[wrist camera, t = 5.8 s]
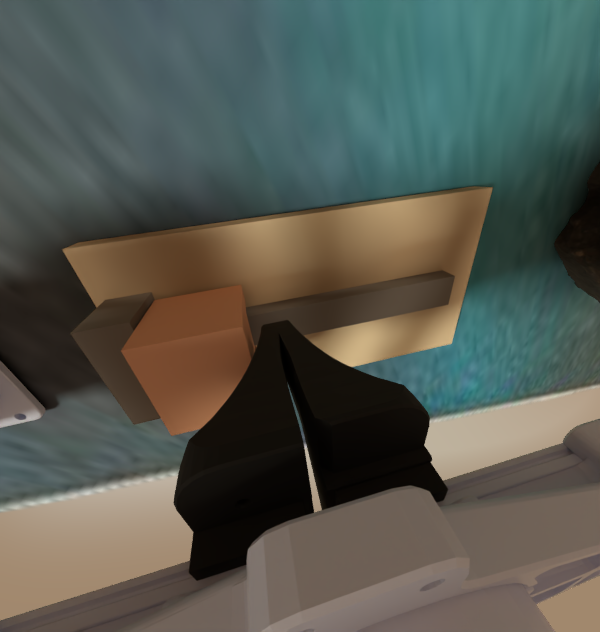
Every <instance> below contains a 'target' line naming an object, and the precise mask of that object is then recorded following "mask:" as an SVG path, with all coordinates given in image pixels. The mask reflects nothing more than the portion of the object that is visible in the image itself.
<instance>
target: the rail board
mask: <svg viewBox="0 0 600 632" xmlns="http://www.w3.org/2000/svg"><path fill="white" fill-rule="evenodd" d="M492 189H493V187H476V186H473V187H466V188H459V189H452V190H445V191H438V192H431V193H424V194H417V195H410V196H403V197H396V198H388V199H381V200H374V201H367V202H360V203H353V204H346V205H339V206H332V207H325V208H318V209H311V210H304V211H297V212H290V213H283V214H276V215H269V216H262V217H255V218H248V219H240V220H233V221H226V222H219V223H212V224H205V225H198V226H191V227H184V228H177V229H170V230H163V231H156V232H149V233H142V234H135V235H128V236H121V237H114V238H107V239H100V240H92V241H85V242H78V243H76V244H74V245H71V246H69V247H67V248H64V249H62V250H63V252H64V254H65V255H66V257H67V259H68V260H69V262H70V264H71V265H72V267H73V269H74V271H75V272H76V274H77V276H78V277H79V279H80V281H81V282H82V284H83V286H84V287H85V289H86V291H87V292H88V294H89V296H90V297H91V299H92V301H93V302H94V304H95V306H96V309H95V310H94V311H93V312H92V313H91V314H90V315H89V316H88V317H87V318H86V319H85V320H84V321H82V322H81V323H80V324H79V325H78V326H77V327H76V328H75V329H74V330H73V331H72V332H71V333H70V334H71V335H72V337H73V338H74V340H75V341H76V343H77V344H78V345H79V347H80V348H81V350H82V351H83V353H84V354H85V355H86V357H87V358H88V360H89V361H90V363H91V364H92V365H93V367H94V368H95V370H96V371H97V373H98V374H99V376H100V377H101V378H102V380H103V381H104V383H105V384H106V386H107V387H108V388H109V390H110V391H111V393H112V394H113V396H114V397H115V398H116V400H117V401H118V403H119V404H120V406H121V407H122V408H123V410H124V411H125V413H126V414H127V416H128V417H129V418H130V420H131V421H132V423H133V424H138V423H143V422H147V421H151V420H155V419H159V418H161V417H160V416H159V414H158V412H157V411H156V409H155V407H154V405H153V404H152V402H151V400H150V399H149V397H148V395H147V394H146V392H145V390H144V389H143V387H142V385H141V384H140V382H139V380H138V379H137V377H136V375H135V374H134V372H133V370H132V369H131V367H130V365H129V364H128V362H127V360H126V359H125V357H124V355H123V354H122V352H121V350H122V348H123V347H124V345H125V344H126V342H127V341H128V339H129V338H130V336H131V335H132V333H133V332H134V330H135V329H136V327H137V326H138V324H139V323H140V321H141V320H142V318H143V317H144V315H145V313H146V312H147V310H148V309H149V307H150V306H151V304H152V303H153V301H154V300H158V299H163V298H169V297H174V296H180V295H186V294H191V293H197V292H203V291H208V290H214V289H220V288H225V287H231V286H237V285H241V286H242V290H243V294H244V298H245V303H246V314H247V318H248V322H249V326H250V330H251V334H252V338H253V342H254V346H255V345H256V347H257V344H258V341H259V338H260V334H261V327H262V326H263V325H264V324H269V323H274V322H279V321H284V320H289V321H290V322H291V323H292V324H293V325H294V327H295V328H296V329H297V330H298V331H299V332H300V333H301V334H302V335H303V336H305V337H306V338H307V339H308V340H309V341H310V342H312V343H313V344H314V345H315V346H317V347H318V348H319V349H321V350H322V351H323V352H325V353H326V354H328V355H329V356H331V357H333V358H334V359H336V360H338V361H340V362H342V363H344V364H346V365H348V366H350V367H354V366H358V365H362V364H367V363H371V362H375V361H379V360H384V359H388V358H392V357H396V356H401V355H405V354H409V353H413V352H418V351H422V350H426V349H430V348H435V347H439V346H443V345H448V344H452V340H453V336H454V332H455V329H456V325H457V321H458V317H459V314H460V310H461V306H462V302H463V298H464V295H465V291H466V287H467V283H468V280H469V276H470V272H471V268H472V264H473V261H474V257H475V253H476V249H477V245H478V242H479V238H480V234H481V230H482V227H483V223H484V219H485V215H486V211H487V208H488V204H489V200H490V196H491V193H492Z"/></svg>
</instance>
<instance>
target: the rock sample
mask: <svg viewBox="0 0 600 632" xmlns="http://www.w3.org/2000/svg"><path fill="white" fill-rule="evenodd" d="M587 186H588V189H589V191H588V196H587V198H586V201H585V204H584V205H583V206H582V207H581V208H580V209H579V211H578V212H576V213H575V214H574V215H573V216H572V217H571V218H570V220H569V223H568V224H567V226H566V227H565V228H564V230H563V231H562V232H561V234H560V235H559V236H558V238H557V239H556V240H555V243H554V246H555V248H556V250H557V252H558V254H559V256H560V258H561V260H562V261H563V264H564V266H565V268H566V270H567V272H568V276H571V278H572V279H573V280H574V281H575V284H576V286H577V287H578V288H581V289H582V290H584V291H585V292H586V293H587V294H588V295H590V296H592V297H593V298H595V299H596V300H598V301H599V303H600V162H599V163H598V165H597V166H596V167H595V169H594V171H593V172H592V174H591V175H590V177H589V179H588V182H587Z"/></svg>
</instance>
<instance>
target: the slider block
mask: <svg viewBox="0 0 600 632" xmlns="http://www.w3.org/2000/svg"><path fill="white" fill-rule="evenodd" d="M255 350H256V345H255V346H254V342H253V338H252V334H251V330H250V326H249V322H248V318H247V314H246V303H245V298H244V294H243V290H242V286H241V285H237V286H231V287H225V288H220V289H214V290H208V291H203V292H197V293H191V294H186V295H180V296H174V297H169V298H163V299H158V300H154V301H153V303H152V304H151V306H150V307H149V309H148V310H147V312H146V313H145V315H144V317H143V318H142V320H141V321H140V323H139V324H138V326H137V327H136V329H135V330H134V332H133V333H132V335H131V336H130V338H129V339H128V341H127V342H126V344H125V345H124V347H123V348H122V350H121V352H122V354H123V355H124V357H125V359H126V360H127V362H128V364H129V365H130V367H131V369H132V370H133V372H134V374H135V375H136V377H137V379H138V380H139V382H140V384H141V385H142V387H143V389H144V390H145V392H146V394H147V395H148V397H149V399H150V400H151V402H152V404H153V405H154V407H155V409H156V411H157V412H158V414H159V416H160V417H161V419H162V421H163V422H164V424H165V426H166V427H167V429H168V431H169V432H170V434H171V436H173V435H177V434H181V433H185V432H189V431H193V430H197V429H201V428H202V427H203V426H204V425H205V424H206V423H207V422H208V421H209V420H210V419H211V418H212V417H213V416H214V415H215V414H216V413H217V411H218V410H219V409H220V408H221V407H222V405H223V404H224V403H225V402H226V401H227V399H228V398H229V397H230V395H231V394H232V392H233V391H234V389H235V388H236V386H237V385H238V383H239V382H240V380H241V379H242V377H243V375H244V374H245V372H246V370H247V368H248V366H249V364H250V362H251V359H252V357H253V355H254V353H255Z"/></svg>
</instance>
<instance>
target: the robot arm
mask: <svg viewBox="0 0 600 632" xmlns="http://www.w3.org/2000/svg"><path fill="white" fill-rule="evenodd" d="M287 382H288V384H287ZM288 385H289V388H290V390H291V393H292V396H293V399H294V402H295V405H296V408H297V411H298V413H299V417H300V420H301V423H302V428H303V432H304V436H305V440H306V444H307V448H308V452H309V457H310V460H311V465H312V469H313V473H314V477H315V482H316V486H317V490H318V494H319V499H320V503H321V507H322V510H321V511H318V512H315V513H314V509H313V503H312V494H311V488H310V482H309V475H308V469H307V462H306V456H305V449H304V444H303V440H302V435H301V431H300V427H299V424H298V420H297V417H296V414H295V410H294V407H293V403H292V400H291V396H290V392H289V389H288ZM44 413H45V408H44V407H43V406H42V404H41V403H40V402H39V401H38V400H37V399H36V398H35V397H34V396H33V395H32V394H31V393H30V392H29V391H28V390H27V388H26V387H25V386H24V385H23V384H22V383H21V382H20V381H19V380H18V379H17V378H16V377H15V376H14V375H13V374H12V372H11V371H10V370H9V369H8V368H7V367H6V366H5V365H4V364H3V363H2V362H1V361H0V428H1V427H5V426H10V425H14V424H19V423H23V422H28V421H32V420H36V419H39V418H41V417H42V415H43V414H44ZM429 421H430V418H429V415H428V412H427V411H426V410H425V408H424V407H423V406H422V405H421V403H420V402H419V401H418V400H417V399H416V397H415V396H414V395H413V394H412V393H411V392H410V391H409V390H408V389H407V388H406V387H405V386H404V385H401V384H398V383H394V382H391V381H387V380H384V379H380V378H377V377H374V376H372V375H369V374H366V373H364V372H361V371H359V370H356V369H354V368H352V367H350V366H348V365H346V364H344V363H342V362H340V361H338V360H336V359H334V358H333V357H331V356H329V355H328V354H326V353H325V352H323V351H322V350H321V349H319V348H318V347H317V346H315V345H314V344H313V343H312V342H310V341H309V340H308V339H307V338H306V337H305V336H303V335H302V334H301V333H300V332H299V331H298V330H297V329H296V328H295V327H294V325H293V324H292V323H291V322H290V321H289V320H284V321H279V322H274V323H269V324H264V325H263V326H262V327H261V334H260V338H259V341H258V344H257V347H256V350H255V353H254V355H253V357H252V359H251V362H250V364H249V366H248V368H247V370H246V372H245V374H244V375H243V377H242V379H241V380H240V382H239V383H238V385H237V386H236V388H235V389H234V391H233V392H232V394H231V395H230V397H229V398H228V399H227V401H226V402H225V403H224V404H223V405H222V407H221V408H220V409H219V410H218V411H217V413H216V414H215V415H214V416H213V417H212V418H211V419H210V420H209V421H208V422H207V423H206V424H205V425H204V426H203V427H202V428H201V429H200V430H199V431H198V432H197V433H196V434H195V435H194V436H193V437H192V438H191V439H190V440H189V442H188V444H187V447H186V450H185V453H184V456H183V459H182V462H181V466H180V470H179V474H178V479H177V485H176V490H175V496H174V505H175V507H176V510H177V511H178V513H179V514H180V515H181V516H182V518H183V519H184V520H185V522H186V523H187V524H188V525H189V527H190V528H191V529H192V531H193V532H194V533H193V541H192V549H191V558H190V561H188V562H185V563H181V564H178V565H175V566H172V567H169V568H166V569H162V570H159V571H156V572H153V573H150V574H147V575H144V576H140V577H137V578H134V579H131V580H128V581H125V582H121V583H118V584H115V585H112V586H109V587H105V588H102V589H99V590H96V591H93V592H90V593H87V594H83V595H80V596H77V597H74V598H71V599H67V600H64V601H61V602H58V603H55V604H52V605H48V606H45V607H42V608H39V609H36V610H33V611H29V612H26V613H24V614H20V615H17V616H14V617H11V618H7V619H4V620H1V621H0V632H555V631H554V629H553V628H552V627H551V625H550V624H549V622H548V621H547V619H546V618H545V616H544V615H543V614H542V612H541V611H540V609H539V608H538V607H537V605H536V604H538V603H540V602H542V601H545V600H547V599H549V598H551V597H554V596H556V595H558V594H560V593H562V592H565V591H567V590H569V589H571V588H573V587H576V586H578V585H580V584H582V583H585V582H586V581H589V580H591V579H593V578H596V577H598V576H600V419H597V420H594V421H591V422H588V423H584V424H581V425H579V426H576V427H575V428H573V429H572V430H571V431H570V432H569V433H568V434H567V435H566V436H565V438H564V440H563V443H562V444H559V445H555V446H552V447H549V448H546V449H542V450H540V451H536V452H533V453H530V454H526V455H523V456H520V457H517V458H514V459H511V460H507V461H504V462H501V463H498V464H495V465H492V466H489V467H485V468H482V469H479V470H476V471H473V472H470V473H467V474H463V475H460V476H457V477H454V478H451V479H447V480H444V481H443V480H442V479H441V477H440V476H439V474H438V473H437V472H436V470H435V468H434V467H433V466H432V464H431V461H432V457H431V455H430V453H429V452H428V450H427V449H426V448H425V446H424V444H425V440H426V436H427V432H428V428H429Z"/></svg>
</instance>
